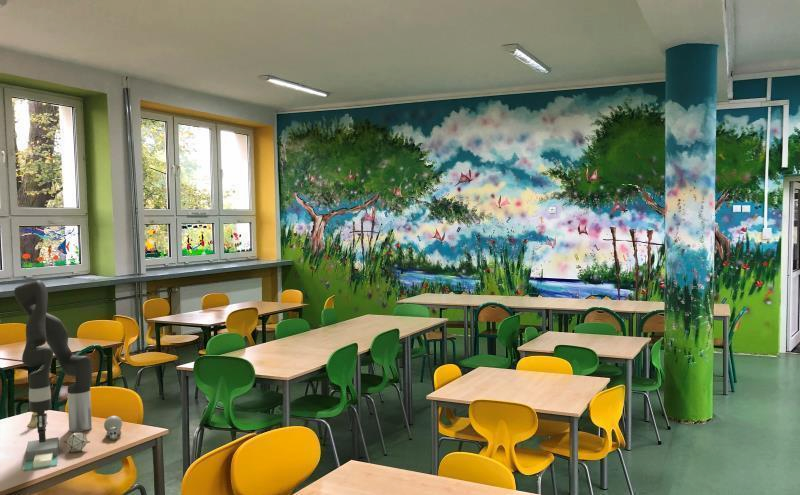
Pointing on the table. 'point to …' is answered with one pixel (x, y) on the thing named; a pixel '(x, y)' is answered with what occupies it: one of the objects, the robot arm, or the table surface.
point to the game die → (77, 441)
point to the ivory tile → (43, 460)
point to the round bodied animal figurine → (113, 426)
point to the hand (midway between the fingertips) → (42, 441)
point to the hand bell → (33, 421)
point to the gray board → (42, 448)
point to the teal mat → (30, 467)
